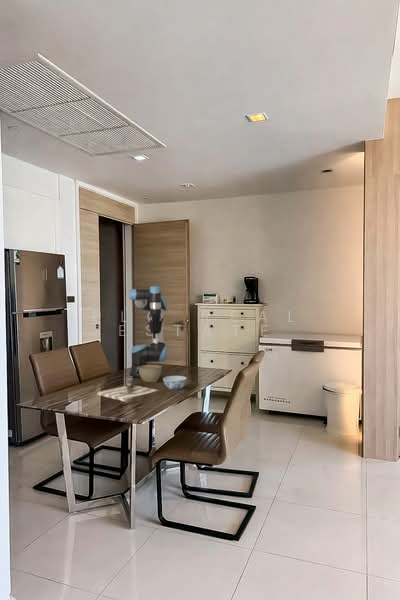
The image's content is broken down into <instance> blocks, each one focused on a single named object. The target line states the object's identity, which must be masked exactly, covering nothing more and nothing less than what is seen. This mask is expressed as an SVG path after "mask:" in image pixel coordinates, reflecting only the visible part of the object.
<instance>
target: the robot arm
mask: <svg viewBox="0 0 400 600" xmlns="http://www.w3.org/2000/svg"><path fill="white" fill-rule="evenodd" d="M129 300H131V301H134V304H135V306H136V307H137V308H138V309H139V310H142V311H145V312H149V314H150V318H149V319H147V323H148V325H149V331H150V334H152V337H151V339H152V340H151V342H150V343H149V346H148V344H145V343H144V344H137V345H133V346H132V347H131V367H130V370H129V374H128V376H129V375H130V376H132V377H140V374H139V368H138V367H139V366H144V365H148V363H155V362H156V363H161V362H165V361H167V357H168V356H167V354H168V346H167V345H166V343H165V342H164V315H165V314H166V312H167V311H168V305H167V298H166V297H165V296H163V295H162V287H161V286H160V285H159V286H157V285H156V286H155V285H153V286H150V287H149V288H131V289H130V290H129Z"/></svg>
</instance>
